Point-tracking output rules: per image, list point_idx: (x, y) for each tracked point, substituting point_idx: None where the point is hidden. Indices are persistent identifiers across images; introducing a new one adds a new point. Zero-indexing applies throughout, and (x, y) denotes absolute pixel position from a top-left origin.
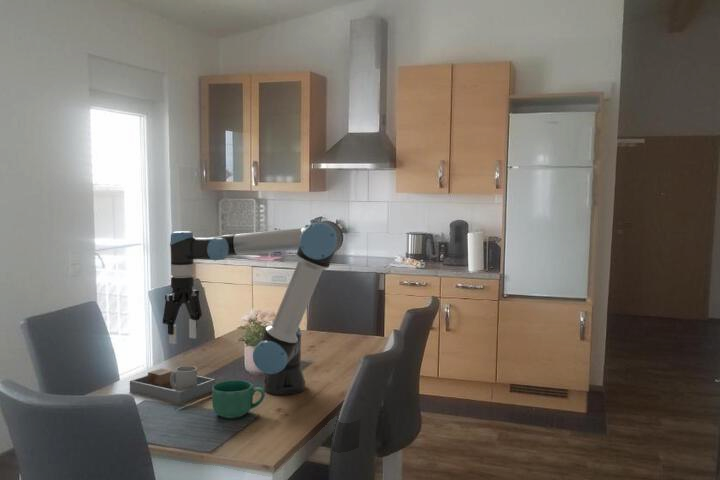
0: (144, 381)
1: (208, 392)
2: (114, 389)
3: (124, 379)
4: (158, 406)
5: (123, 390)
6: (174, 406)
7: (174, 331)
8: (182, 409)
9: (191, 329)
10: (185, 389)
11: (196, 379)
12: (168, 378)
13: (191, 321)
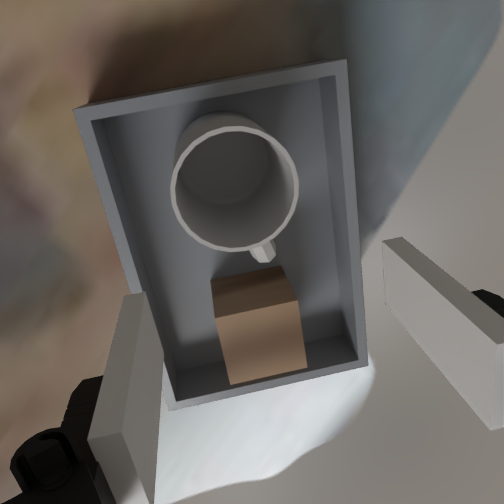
0: None
1: (136, 94)
2: (353, 403)
3: (267, 471)
4: (384, 127)
5: (341, 377)
6: None
7: (472, 298)
8: (351, 3)
9: (150, 384)
10: (299, 78)
11: (195, 129)
12: (240, 296)
13: (141, 461)
